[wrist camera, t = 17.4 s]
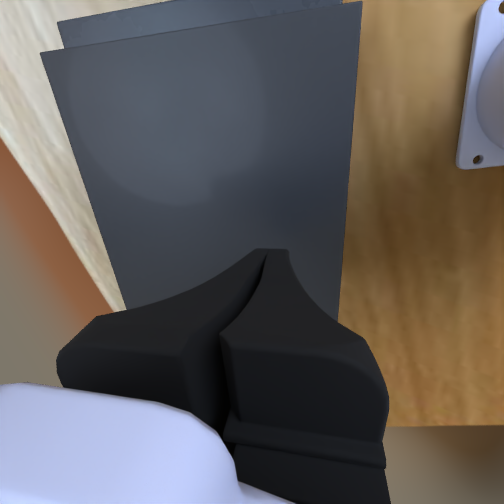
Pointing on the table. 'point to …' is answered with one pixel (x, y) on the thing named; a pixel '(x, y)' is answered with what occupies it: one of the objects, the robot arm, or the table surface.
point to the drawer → (173, 18)
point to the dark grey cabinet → (216, 147)
